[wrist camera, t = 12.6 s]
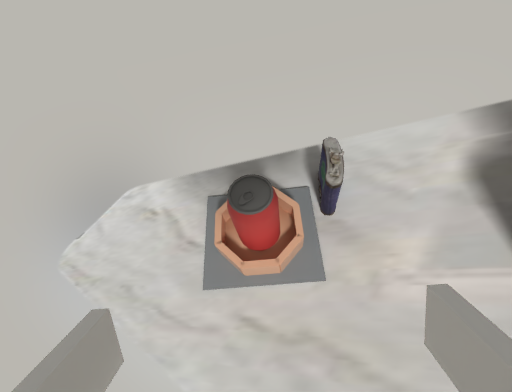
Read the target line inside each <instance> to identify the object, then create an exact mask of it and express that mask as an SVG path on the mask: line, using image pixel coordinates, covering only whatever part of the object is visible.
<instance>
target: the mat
mask: <svg viewBox="0 0 512 392" xmlns="http://www.w3.org/2000/svg"><path fill="white" fill-rule="evenodd" d="M279 191H281V192H282V193H284V194H285V195H287V196H288V197H290V198H291V199H293V200H294V201H296V202H297V203H298V204H299V207H300V213H301V220H302V226H303V233H304V241H303V247H302V248H301V249H300V251H299V252H298V253H297V254H296V255H295V257H294V258H293V259H292V260H291V261H290V263H289V264H288V265H287V266H286V267H285V269H284V270H283V271H282V272H280V273H275V274H262V275H249V276H245V275H243V274H242V273H241V272H240V271H239V270H238V269H237V268H236V267H235V266H234V265H232V264H231V263H230V262H229V261H228V260H227V259H226V258H225V257H224V256H223V255H222V254H221V253H220V252H219V251H218V249H217V248H216V246H215V245H214V239H215V213H216V211H217V210H218V209H219V208H220V207H221V206H222V205H223V204H224V203H225V202H226V201H227V199H228V195H222V196H212V197H208V203H207V222H206V241H205V260H204V279H203V290H211V289H224V288H237V287H250V286H263V285H276V284H289V283H302V282H315V281H326V278H325V272H324V267H323V261H322V256H321V251H320V245H319V240H318V234H317V229H316V223H315V218H314V212H313V207H312V201H311V196H310V190H309V187H300V188H290V189H281V190H279Z"/></svg>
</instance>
